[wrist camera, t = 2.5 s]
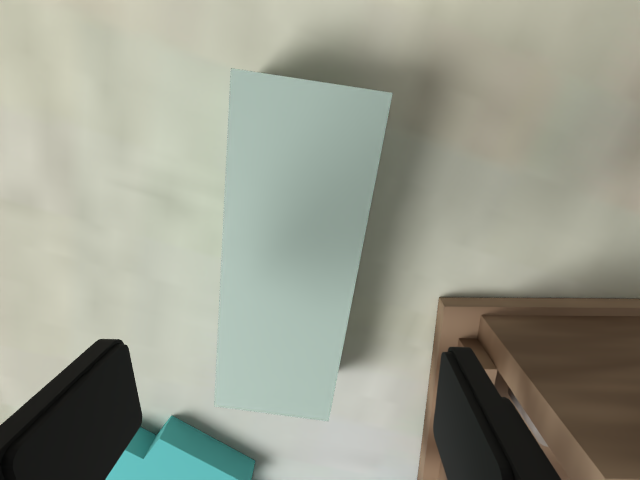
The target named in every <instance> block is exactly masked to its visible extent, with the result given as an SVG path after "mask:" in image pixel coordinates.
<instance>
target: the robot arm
mask: <svg viewBox="0 0 640 480" xmlns="http://www.w3.org/2000/svg"><path fill="white" fill-rule="evenodd" d="M141 422H142V412H141V407H140V402H139V397H138V392H137V387H136V382H135V377H134V373H133V368H132V363H131V358H130V353H129V348H128V346H127V345H124V343H123V342H122V340H119V339H100V340H98V341H96V342H95V343H94V344H93V345H92V346H90V347H89V348H88V349H87V350H86V351H85V352H84V353H82V354H81V355H80V356H79V357H78V358H77V359H76V360H74V361H73V362H72V363H71V364H70V365H69V366H68V367H66V368H65V369H64V370H63V371H62V372H61V373H60V374H58V375H57V376H56V377H55V378H54V379H53V380H52V381H50V382H49V383H48V384H47V385H46V386H45V387H44V388H42V389H41V390H40V391H39V392H38V393H37V394H36V395H34V396H33V397H32V398H31V399H30V400H29V401H28V402H26V403H25V404H24V405H23V406H22V407H21V408H20V409H18V410H17V411H16V412H15V413H14V414H13V415H12V416H10V417H9V418H8V419H7V420H6V421H5V422H4V423H3V424H1V425H0V480H105V479H106V478H107V476H108V475H109V473H110V472H111V470H112V469H113V467H114V466H115V464H116V463H117V461H118V460H119V458H120V457H121V455H122V454H123V452H124V451H125V449H126V448H127V446H128V445H129V443H130V442H131V440H132V439H133V437H134V436H135V434H136V433H137V431H138V430H139V428H140V425H141ZM433 433H434V438H435V442H436V445H437V448H438V451H439V455H440V458H441V461H442V464H443V467H444V471H445V474H446V477H447V480H561V478H560V477H559V475H558V474H557V472H556V470H555V469H554V467H553V466H552V464H551V463H550V461H549V459H548V458H547V456H546V455H545V453H544V452H543V450H542V449H541V447H540V445H539V444H538V442H537V441H536V439H535V438H534V436H533V434H532V433H531V431H530V430H529V428H528V427H527V425H526V423H525V422H524V420H523V419H522V417H521V416H520V414H519V413H518V411H517V409H516V408H515V406H514V405H513V403H512V402H511V401H510V400H509V399H508V398H506V397H501V396H500V394H499V393H498V391H497V389H496V388H495V386H494V384H493V383H492V381H491V380H490V378H489V376H488V375H487V373H486V371H485V370H484V368H483V366H482V365H481V363H480V362H479V360H478V358H477V357H476V355H475V353H474V352H473V350H472V349H471V348H470V347H449V348H448V351H447V352H442V354H441V361H440V370H439V379H438V387H437V396H436V405H435V413H434V422H433Z"/></svg>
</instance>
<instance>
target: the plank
mask: <svg viewBox="0 0 640 480" xmlns="http://www.w3.org/2000/svg"><path fill="white" fill-rule="evenodd" d="M392 94H393V93H390V92H384V91H377V90H371V89H364V88H358V87H351V86H344V85H338V84H331V83H325V82H318V81H311V80H305V79H298V78H292V77H285V76H279V75H272V74H265V73H259V72H252V71H246V70H239V69H233V68H231V75H230V95H229V116H228V136H227V157H226V177H225V197H224V218H223V238H222V258H221V279H220V299H219V319H218V340H217V360H216V381H215V401H214V406H215V407H223V408H230V409H238V410H246V411H253V412H261V413H268V414H276V415H284V416H291V417H299V418H306V419H314V420H322V421H329V416H330V411H331V406H332V401H333V396H334V391H335V386H336V381H337V375H338V370H339V365H340V360H341V355H342V350H343V345H344V340H345V335H346V329H347V324H348V319H349V314H350V309H351V304H352V299H353V294H354V288H355V283H356V278H357V273H358V268H359V263H360V258H361V253H362V248H363V242H364V237H365V232H366V227H367V222H368V217H369V212H370V207H371V202H372V196H373V191H374V186H375V181H376V176H377V171H378V166H379V161H380V155H381V150H382V145H383V140H384V135H385V130H386V125H387V120H388V115H389V109H390V104H391V99H392Z"/></svg>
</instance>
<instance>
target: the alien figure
mask: <svg viewBox="0 0 640 480" xmlns="http://www.w3.org/2000/svg"><path fill="white" fill-rule="evenodd" d="M254 465H255V460H253V459H251V458H249V457H248V456H246V455H244V454H242V453H240V452H238V451H236V450H235V449H233V448H231V447H229V446H227V445H225V444H223V443H222V442H220V441H218V440H216V439H214V438H212V437H211V436H209V435H207V434H205V433H203V432H201V431H199V430H198V429H196V428H194V427H192V426H190V425H188V424H187V423H185V422H183V421H181V420H179V419H177V418H175V417H174V416H171V417H170V418H169V419H168V421H167V422H166V423H165V425H164V426H163V427H162V429H161V430H160V431H159V432H158V434H157V435H155V434H153V433H151V432H149V431H147V430H145V429H144V428H142V427H140V428H139V430H138V431H137V433H136V434H135V436H134V437H133V439H132V440H131V442H130V443H129V445H128V446H127V448H126V449H125V451H124V452H123V454H122V455H121V457H120V458H119V460H118V461H117V463H116V464H115V466H114V467H113V469H112V470H111V472H110V473H109V475H108V476H107V478H106V479H105V480H251V479H252V474H253V470H254Z"/></svg>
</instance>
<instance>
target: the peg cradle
mask: <svg viewBox="0 0 640 480" xmlns="http://www.w3.org/2000/svg"><path fill="white" fill-rule="evenodd" d="M449 347H470V348H471V349H472V350H473V352H474V353H475V355H476V357H477V358H478V360H479V362H480V363H481V365H482V366H483V368H484V370H485V371H486V373H487V375H488V376H489V378H490V380H491V381H492V383H493V384H494V386H495V388H496V389H497V391H498V393H499V394H500V396H501V397H506V398H508V399H509V400H510V401H511V402H512V403H513V405H514V406H515V408H516V409H517V411H518V413H519V414H520V416H521V417H522V419H523V420H524V422H525V423H526V425H527V427H528V428H529V430H530V431H531V433H532V434H533V436H534V438H535V439H536V441H537V442H538V444H539V445H540V447H541V449H542V450H543V452H544V453H545V455H546V456H547V458H548V459H549V461H550V463H551V464H552V466H553V467H554V469H555V470H556V472H557V474H558V475H559V477H560V478H561V480H640V299H604V298H446V297H439V302H438V311H437V319H436V327H435V336H434V344H433V352H432V361H431V369H430V377H429V386H428V394H427V403H426V411H425V419H424V428H423V436H422V444H421V453H420V461H419V469H418V478H417V480H447V477H446V474H445V471H444V467H443V464H442V461H441V458H440V455H439V451H438V448H437V445H436V442H435V438H434V433H433V422H434V413H435V405H436V396H437V387H438V379H439V370H440V361H441V354H442V352H447V351H448V348H449Z"/></svg>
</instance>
